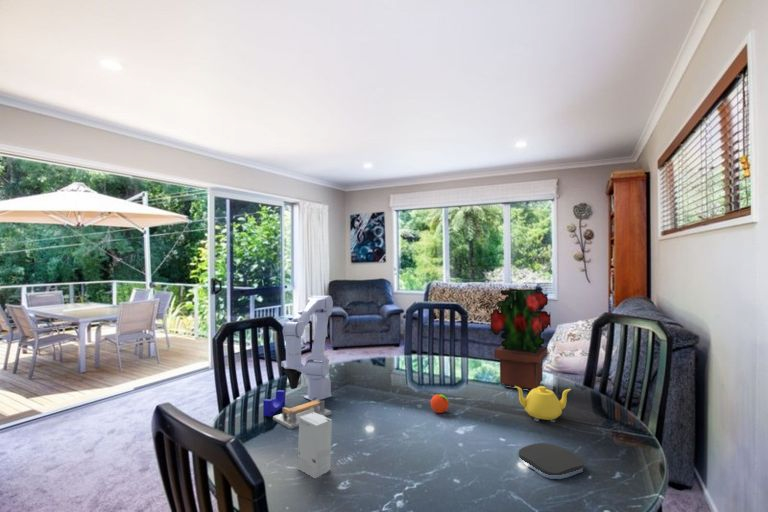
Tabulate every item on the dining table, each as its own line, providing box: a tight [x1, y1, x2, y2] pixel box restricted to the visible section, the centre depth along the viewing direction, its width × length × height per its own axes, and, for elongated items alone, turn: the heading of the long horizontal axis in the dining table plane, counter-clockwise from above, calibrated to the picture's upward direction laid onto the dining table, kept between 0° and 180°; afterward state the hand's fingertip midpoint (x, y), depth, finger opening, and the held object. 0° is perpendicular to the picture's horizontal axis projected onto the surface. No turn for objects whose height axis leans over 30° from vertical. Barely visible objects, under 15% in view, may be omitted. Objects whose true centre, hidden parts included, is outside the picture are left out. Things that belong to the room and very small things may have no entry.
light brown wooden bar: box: [284, 399, 321, 415], centre depth 147 cm, size 15×4×2 cm, turn 136°
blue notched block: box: [262, 389, 286, 417], centre depth 154 cm, size 12×4×6 cm, turn 168°
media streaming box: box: [518, 442, 585, 475], centre depth 112 cm, size 15×15×3 cm
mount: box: [272, 397, 332, 430], centre depth 146 cm, size 18×12×5 cm, turn 136°
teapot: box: [515, 385, 572, 421], centre depth 145 cm, size 20×15×12 cm
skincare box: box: [296, 412, 333, 479], centre depth 109 cm, size 8×6×15 cm
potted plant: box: [489, 288, 552, 390], centre depth 181 cm, size 22×22×45 cm
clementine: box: [430, 393, 450, 414], centre depth 150 cm, size 8×7×7 cm
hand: (293, 388), depth 148 cm, fingers closed
